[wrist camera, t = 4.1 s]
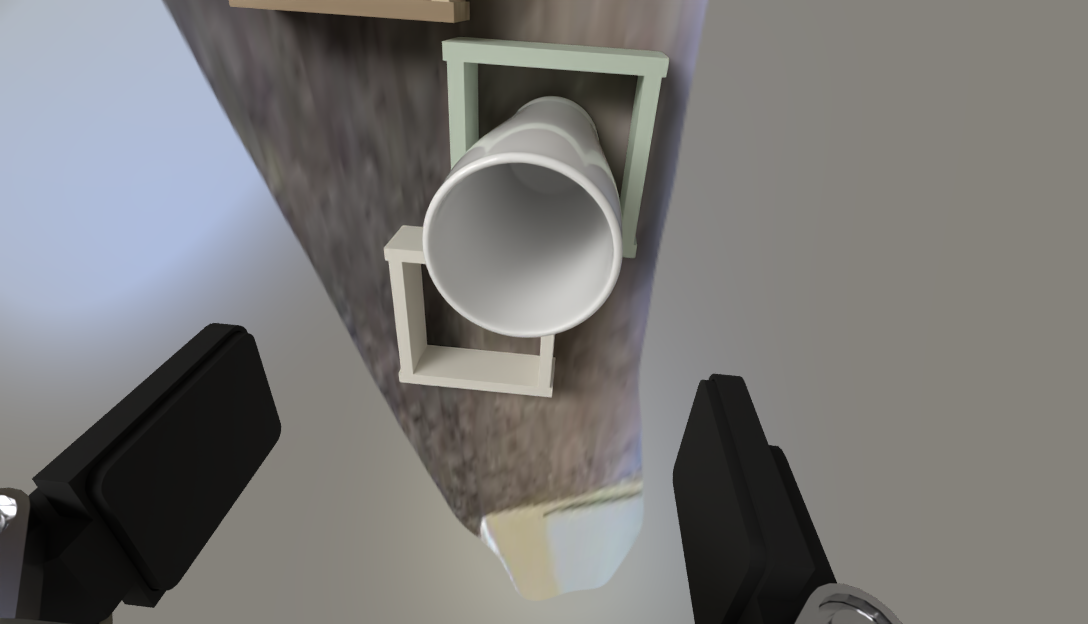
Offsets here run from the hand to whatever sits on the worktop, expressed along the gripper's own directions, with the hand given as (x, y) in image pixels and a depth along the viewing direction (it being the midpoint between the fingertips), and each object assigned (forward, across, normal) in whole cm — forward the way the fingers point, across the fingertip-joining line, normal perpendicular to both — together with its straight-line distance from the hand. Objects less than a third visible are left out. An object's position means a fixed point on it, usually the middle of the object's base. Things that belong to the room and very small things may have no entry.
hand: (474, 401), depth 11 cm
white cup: (+22, 0, 0) cm, 22 cm away
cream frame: (+22, +4, +11) cm, 25 cm away
